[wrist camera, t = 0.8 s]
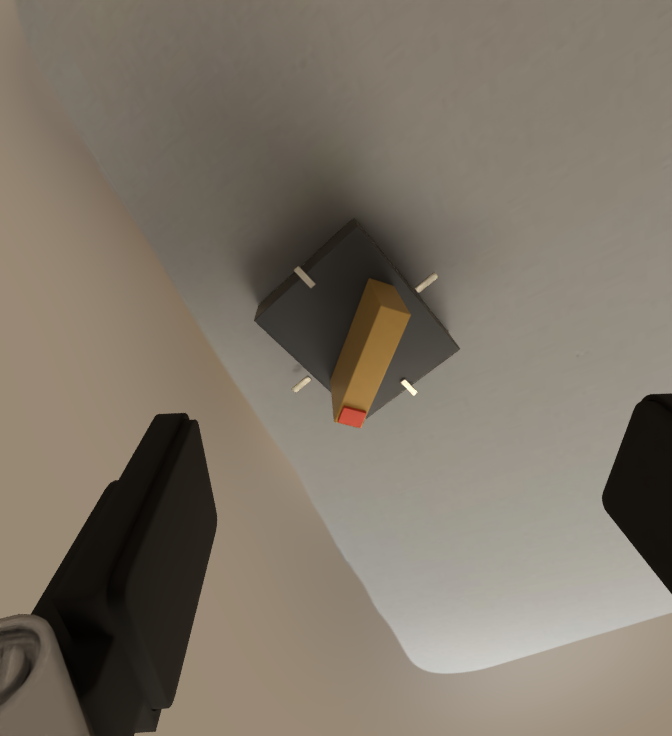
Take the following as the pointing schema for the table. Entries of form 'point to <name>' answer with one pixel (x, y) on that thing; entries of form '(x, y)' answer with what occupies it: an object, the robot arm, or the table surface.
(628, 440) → the robot arm
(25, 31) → the table surface
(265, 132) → the table surface
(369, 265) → the panel
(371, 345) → the yellow block
